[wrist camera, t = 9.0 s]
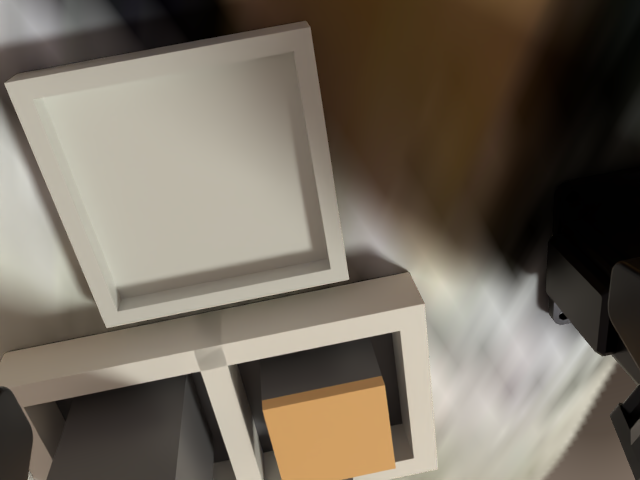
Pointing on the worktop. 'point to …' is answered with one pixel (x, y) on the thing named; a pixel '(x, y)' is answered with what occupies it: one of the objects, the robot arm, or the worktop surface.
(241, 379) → the two-cubby shelf
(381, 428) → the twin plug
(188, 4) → the worktop surface
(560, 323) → the robot arm
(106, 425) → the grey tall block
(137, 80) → the tray
